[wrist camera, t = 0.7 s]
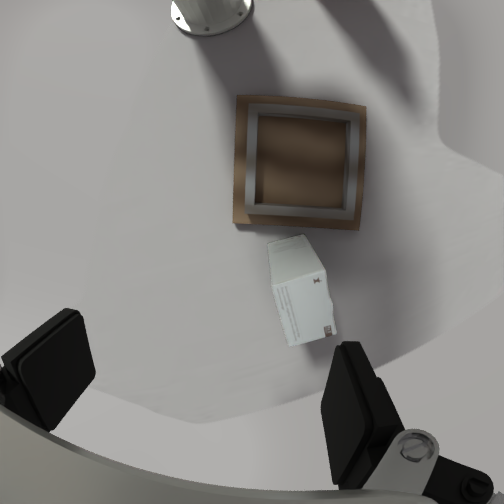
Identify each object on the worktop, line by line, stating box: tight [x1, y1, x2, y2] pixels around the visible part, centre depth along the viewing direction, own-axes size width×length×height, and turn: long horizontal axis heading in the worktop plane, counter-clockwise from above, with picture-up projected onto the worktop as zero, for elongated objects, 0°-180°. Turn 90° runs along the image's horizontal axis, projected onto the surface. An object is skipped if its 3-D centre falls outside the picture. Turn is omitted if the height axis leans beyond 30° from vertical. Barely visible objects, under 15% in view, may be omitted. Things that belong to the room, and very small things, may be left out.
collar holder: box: [233, 95, 366, 230], centre depth 36 cm, size 18×18×4 cm
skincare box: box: [267, 234, 337, 347], centre depth 36 cm, size 8×6×15 cm
